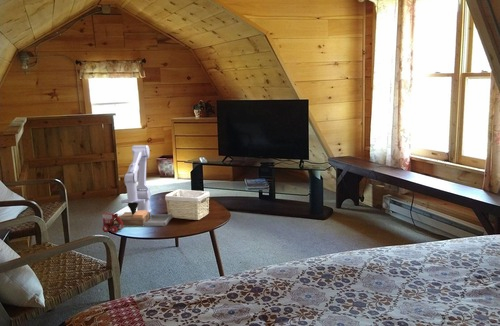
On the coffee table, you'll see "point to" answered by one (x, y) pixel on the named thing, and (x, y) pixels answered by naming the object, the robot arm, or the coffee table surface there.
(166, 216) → the tray
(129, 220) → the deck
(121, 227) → the toy fire truck
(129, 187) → the robot arm
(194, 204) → the storage basket
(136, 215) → the tan rectangular block
